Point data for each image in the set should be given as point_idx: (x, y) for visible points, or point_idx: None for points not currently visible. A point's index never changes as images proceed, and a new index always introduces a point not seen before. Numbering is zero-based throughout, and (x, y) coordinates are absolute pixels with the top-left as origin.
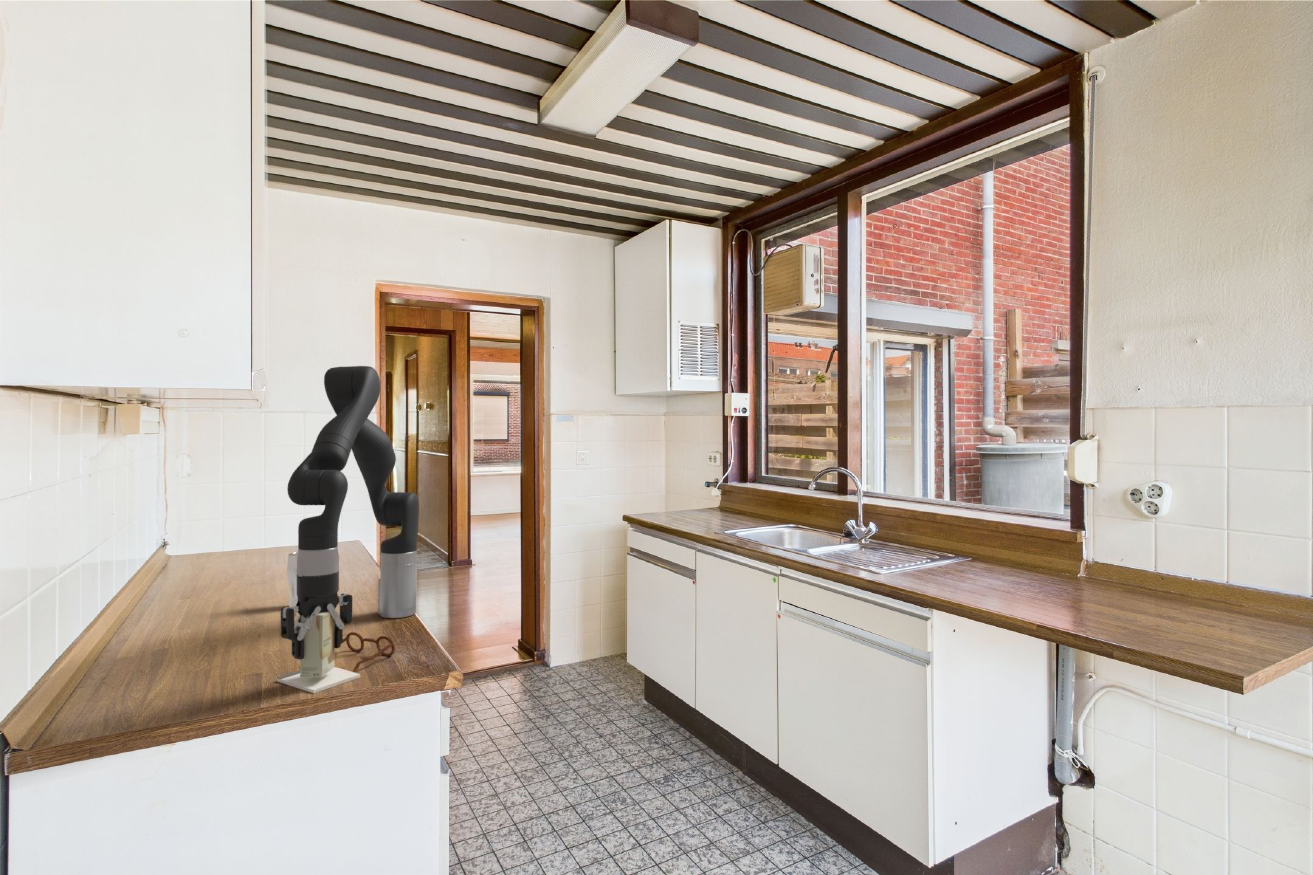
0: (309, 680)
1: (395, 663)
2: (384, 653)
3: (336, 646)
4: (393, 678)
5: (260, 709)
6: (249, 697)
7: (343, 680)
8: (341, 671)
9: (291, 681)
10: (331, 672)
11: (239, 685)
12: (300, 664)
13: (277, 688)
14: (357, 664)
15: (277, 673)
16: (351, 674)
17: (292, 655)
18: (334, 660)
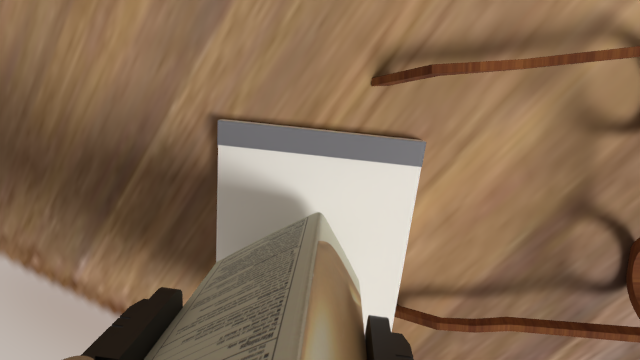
0: None
1: (550, 353)
2: (636, 260)
3: None
4: None
5: (66, 286)
6: (89, 174)
7: None
8: (382, 277)
9: (226, 201)
10: (359, 253)
11: (123, 24)
12: (194, 292)
13: (183, 185)
14: (427, 324)
15: (280, 34)
16: None
17: (139, 303)
18: (360, 297)
